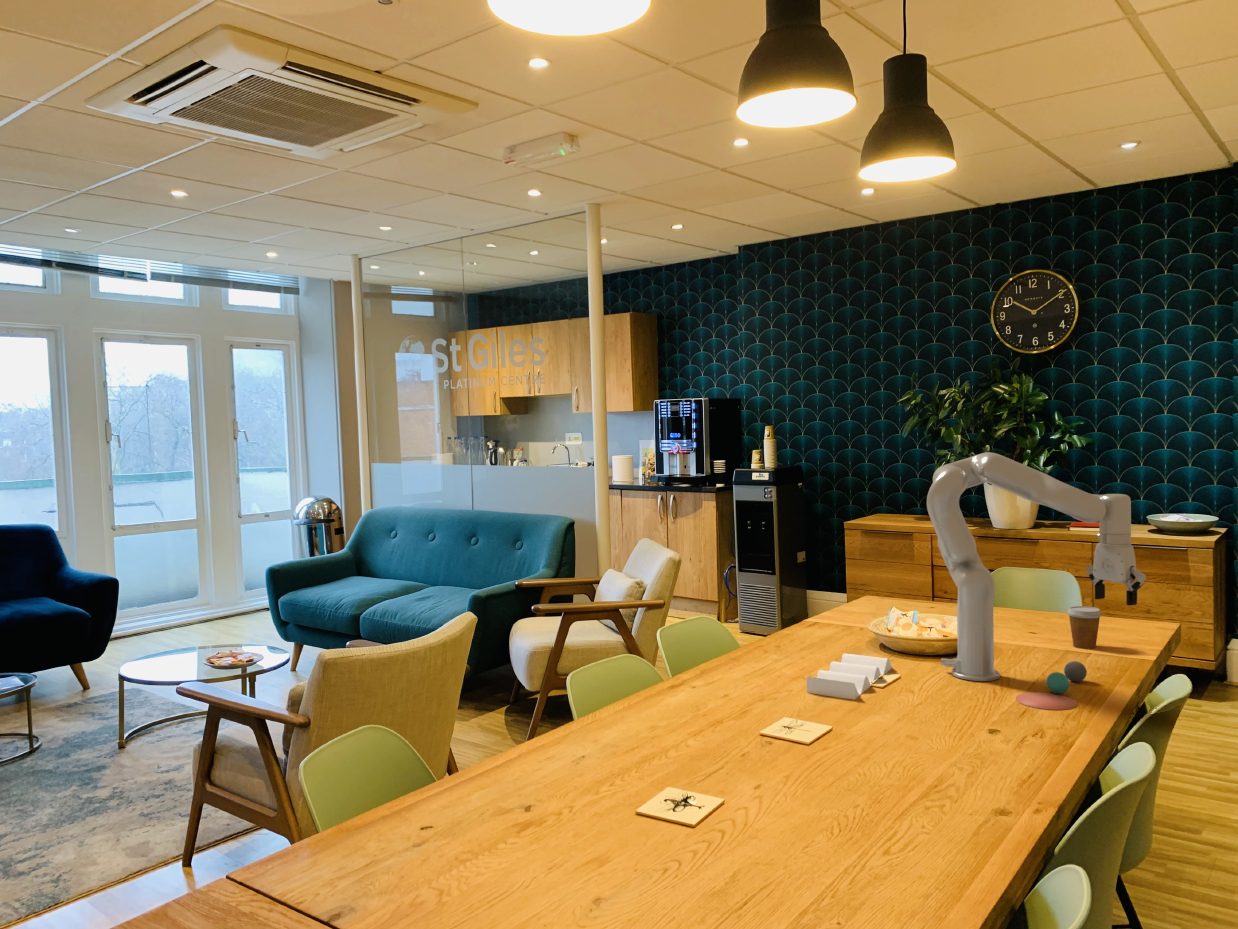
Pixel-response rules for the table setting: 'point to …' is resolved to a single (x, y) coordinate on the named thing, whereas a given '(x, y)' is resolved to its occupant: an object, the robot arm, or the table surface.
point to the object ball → (1057, 682)
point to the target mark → (1046, 701)
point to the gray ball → (1075, 671)
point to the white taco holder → (848, 676)
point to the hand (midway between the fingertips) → (1115, 601)
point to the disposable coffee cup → (1084, 626)
